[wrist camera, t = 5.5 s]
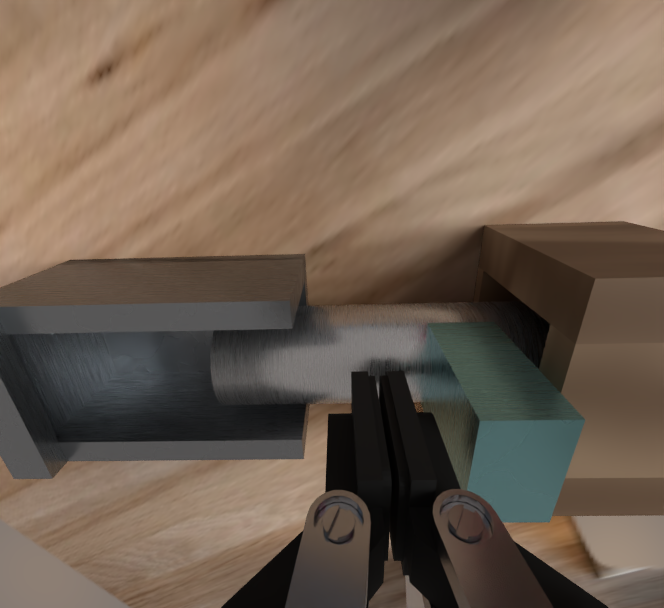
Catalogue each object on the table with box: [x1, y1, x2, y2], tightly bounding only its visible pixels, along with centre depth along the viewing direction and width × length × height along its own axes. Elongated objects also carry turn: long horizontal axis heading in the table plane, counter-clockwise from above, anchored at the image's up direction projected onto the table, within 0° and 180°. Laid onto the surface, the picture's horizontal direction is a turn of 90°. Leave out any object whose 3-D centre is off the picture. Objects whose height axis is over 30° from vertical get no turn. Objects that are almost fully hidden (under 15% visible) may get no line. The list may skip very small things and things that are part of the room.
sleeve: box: [0, 254, 310, 479], centre depth 14 cm, size 7×11×6 cm, turn 92°
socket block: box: [473, 222, 664, 516], centre depth 13 cm, size 9×6×7 cm, turn 2°
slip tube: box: [210, 301, 585, 522], centre depth 12 cm, size 4×15×8 cm, turn 92°
